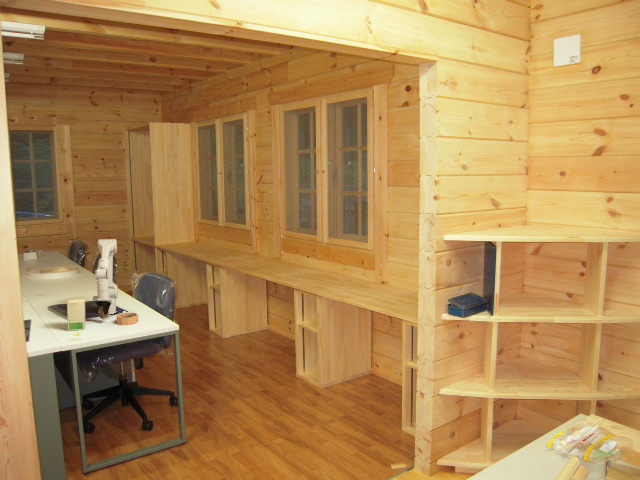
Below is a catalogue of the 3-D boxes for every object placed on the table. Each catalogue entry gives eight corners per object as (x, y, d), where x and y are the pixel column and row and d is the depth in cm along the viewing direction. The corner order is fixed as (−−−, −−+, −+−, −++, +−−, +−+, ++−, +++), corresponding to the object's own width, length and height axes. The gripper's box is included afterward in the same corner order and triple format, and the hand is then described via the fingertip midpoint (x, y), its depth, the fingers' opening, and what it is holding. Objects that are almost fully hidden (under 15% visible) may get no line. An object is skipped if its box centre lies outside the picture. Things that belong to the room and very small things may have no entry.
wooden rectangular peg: (100, 318, 300) (99, 306, 299) (105, 316, 303) (105, 304, 302) (103, 319, 299) (102, 306, 298) (108, 317, 302) (108, 305, 301)
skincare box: (67, 331, 287) (66, 302, 284) (69, 327, 293) (68, 299, 291) (84, 330, 289) (83, 301, 287) (86, 326, 295) (84, 298, 293)
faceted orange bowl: (112, 323, 301) (112, 316, 300) (127, 318, 311) (127, 311, 310) (127, 326, 296) (127, 319, 295) (142, 321, 306) (141, 314, 305)
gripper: (87, 290, 298) (88, 313, 300) (107, 293, 292) (108, 317, 294) (97, 287, 304) (99, 310, 306) (117, 290, 298) (118, 314, 300)
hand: (104, 313), depth 301 cm, fingers closed on wooden rectangular peg, 2 cm apart
